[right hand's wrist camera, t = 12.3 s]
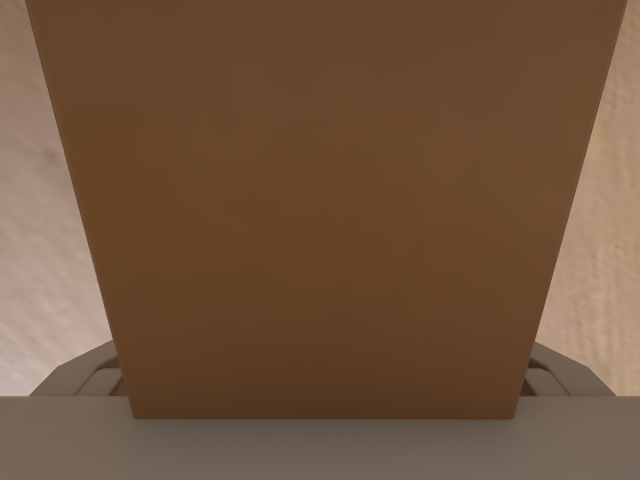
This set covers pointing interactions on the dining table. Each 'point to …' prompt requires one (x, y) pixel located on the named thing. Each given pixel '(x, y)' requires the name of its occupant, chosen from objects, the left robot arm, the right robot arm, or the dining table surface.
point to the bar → (325, 193)
